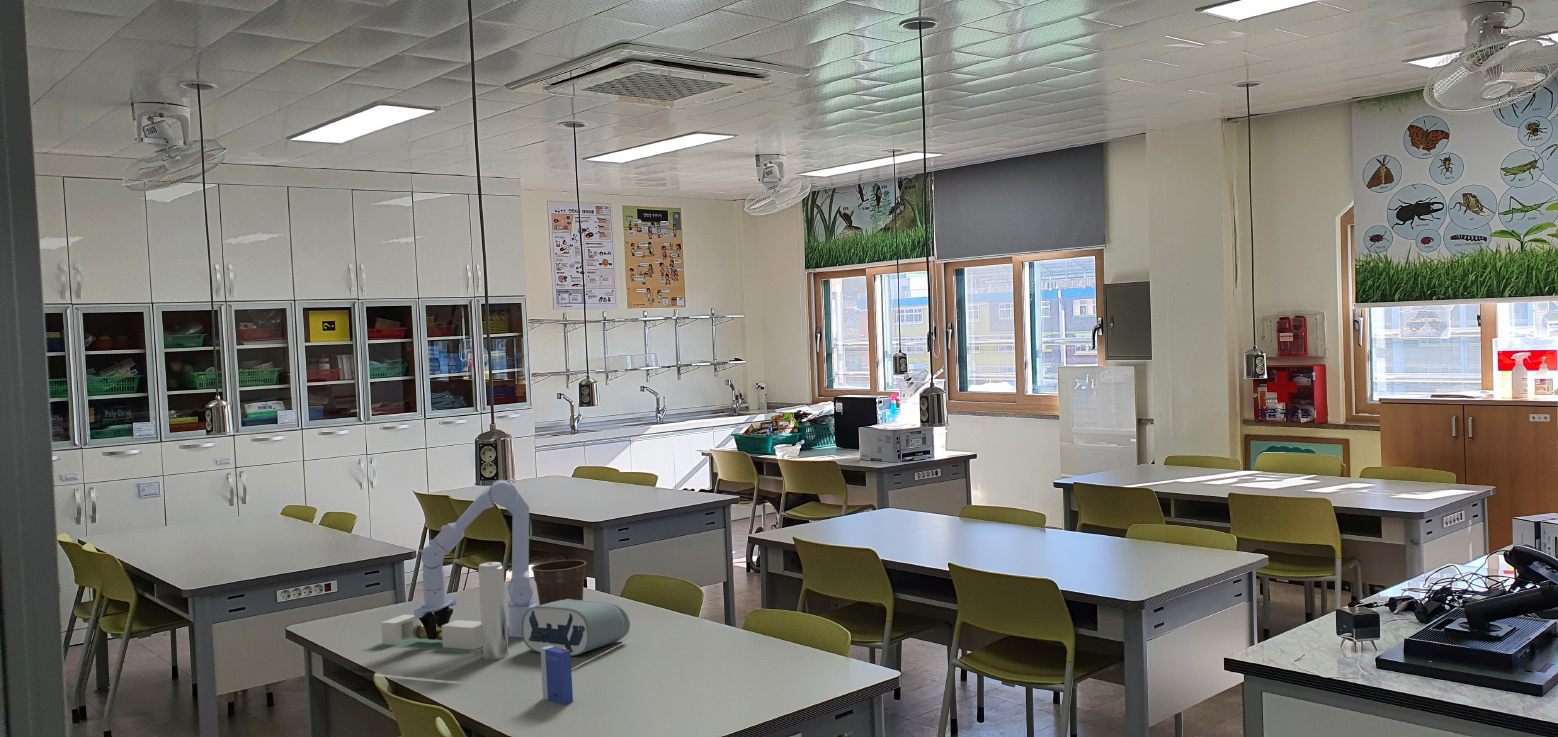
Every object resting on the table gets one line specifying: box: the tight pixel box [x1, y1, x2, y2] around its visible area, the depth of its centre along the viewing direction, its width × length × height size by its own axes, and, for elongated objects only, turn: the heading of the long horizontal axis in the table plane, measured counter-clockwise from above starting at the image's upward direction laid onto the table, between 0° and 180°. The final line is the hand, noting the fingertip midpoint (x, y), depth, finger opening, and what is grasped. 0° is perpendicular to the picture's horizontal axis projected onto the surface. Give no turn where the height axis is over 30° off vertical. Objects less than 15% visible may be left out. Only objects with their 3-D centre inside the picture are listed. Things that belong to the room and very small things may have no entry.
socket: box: [381, 614, 420, 645], centre depth 309 cm, size 5×9×6 cm, turn 156°
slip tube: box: [413, 624, 442, 640], centre depth 302 cm, size 21×4×4 cm, turn 66°
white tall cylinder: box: [477, 561, 510, 661], centre depth 287 cm, size 6×6×25 cm
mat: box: [376, 638, 483, 654], centre depth 304 cm, size 32×12×1 cm, turn 66°
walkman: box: [540, 646, 574, 705], centre depth 249 cm, size 8×3×12 cm, turn 47°
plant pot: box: [531, 559, 587, 605], centre depth 328 cm, size 16×16×16 cm
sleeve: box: [442, 619, 483, 651], centre depth 300 cm, size 11×6×6 cm, turn 66°
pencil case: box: [522, 599, 631, 657], centre depth 293 cm, size 22×19×13 cm
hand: (437, 637), depth 304 cm, fingers closed on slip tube, 4 cm apart
